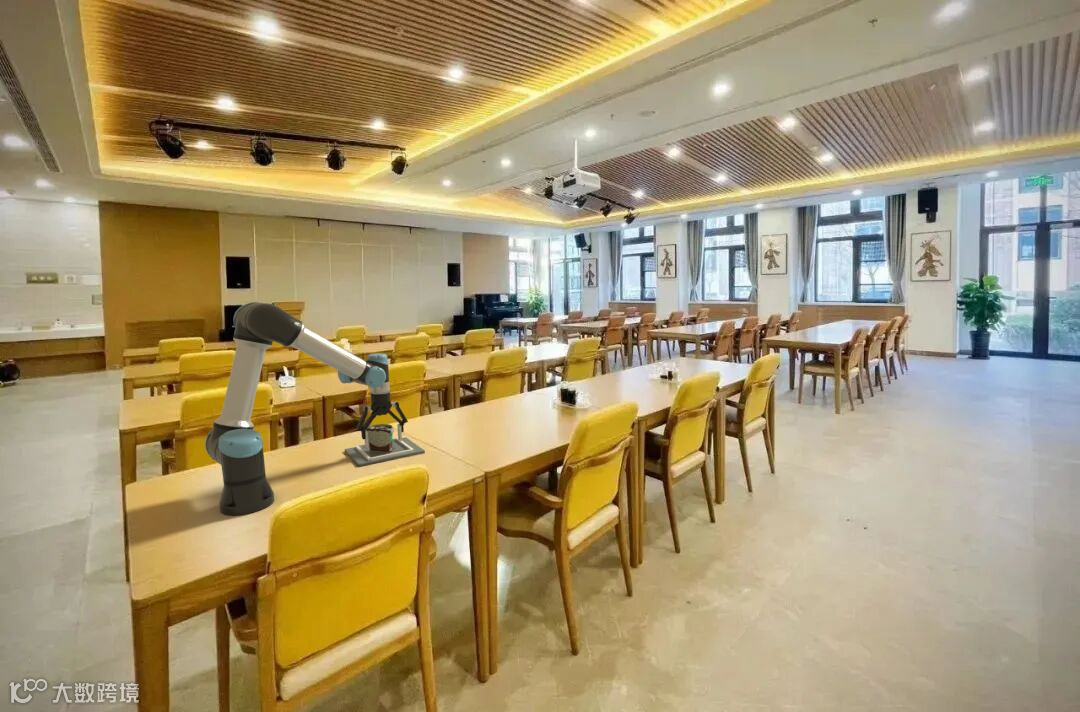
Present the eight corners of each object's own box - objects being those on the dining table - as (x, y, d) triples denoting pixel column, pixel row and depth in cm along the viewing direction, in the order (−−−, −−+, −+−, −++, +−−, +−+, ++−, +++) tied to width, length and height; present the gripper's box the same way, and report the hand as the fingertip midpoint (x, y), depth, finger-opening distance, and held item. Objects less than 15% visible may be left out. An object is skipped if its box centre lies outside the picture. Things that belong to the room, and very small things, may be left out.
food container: (401, 448, 215) (400, 424, 213) (393, 453, 209) (391, 429, 208) (375, 446, 219) (374, 422, 217) (366, 450, 213) (364, 427, 211)
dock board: (359, 466, 198) (358, 461, 197) (344, 451, 216) (344, 446, 215) (424, 452, 212) (424, 448, 212) (406, 439, 230) (405, 435, 230)
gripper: (350, 398, 200) (354, 451, 203) (413, 389, 214) (416, 439, 217) (345, 395, 206) (349, 446, 210) (407, 386, 220) (410, 435, 223)
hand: (383, 443), depth 213 cm, fingers open, 13 cm apart
